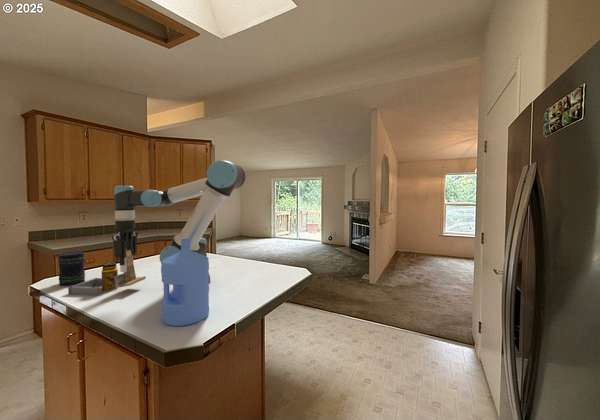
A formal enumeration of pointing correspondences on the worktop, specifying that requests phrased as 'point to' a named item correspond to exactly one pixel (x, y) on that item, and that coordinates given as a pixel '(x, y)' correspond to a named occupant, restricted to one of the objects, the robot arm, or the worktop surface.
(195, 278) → the water jug
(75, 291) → the tray
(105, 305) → the worktop surface
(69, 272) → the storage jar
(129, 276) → the scraper
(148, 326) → the worktop surface
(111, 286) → the condiment
